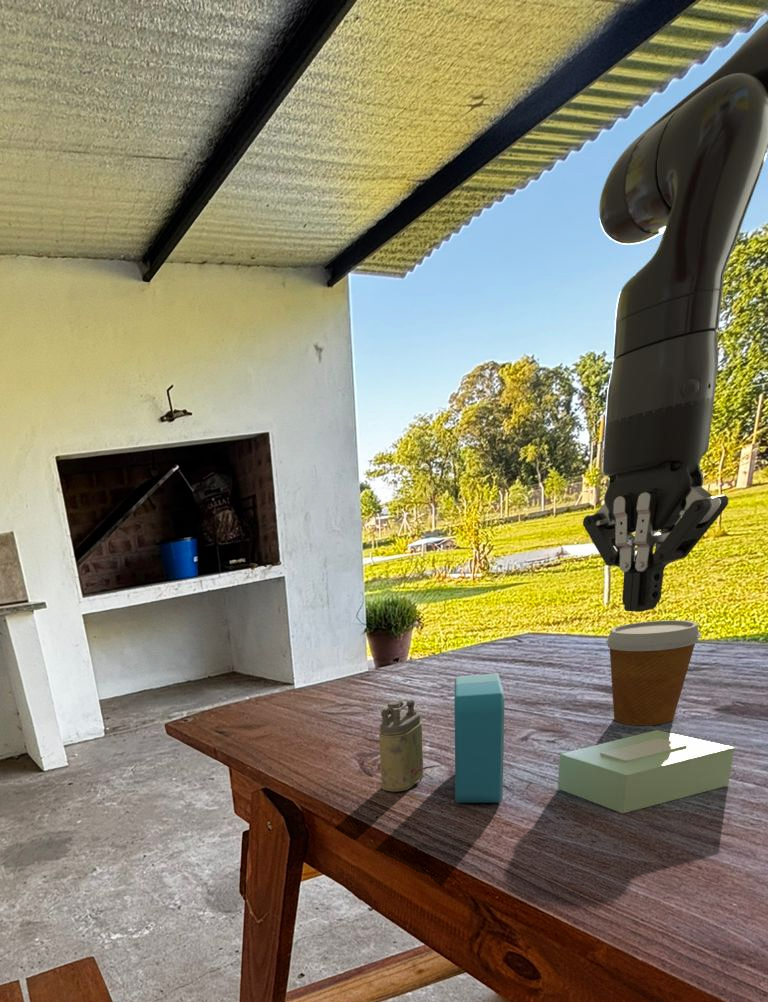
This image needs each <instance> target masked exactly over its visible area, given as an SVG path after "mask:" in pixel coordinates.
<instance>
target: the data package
mask: <svg viewBox="0 0 768 1002" xmlns="http://www.w3.org/2000/svg"><path fill="white" fill-rule="evenodd" d="M502 686H503V685H502V682H501V678H500V675H499V673H496V672H495V673H486V674H474V675H473V674H471V675H461V676H460V675H459V676H456V677H454V795H455V796H454V798H455V799H454V801H455V802H456V803H457V804H482V803H483V804H486V803H487V804H488V803H489V804H490V803H491V804H492V803H493V804H494V803H495V804H497V803H501V802H502V801H503V797H504V795H503V794H504V755H505V754H504V751H505V748H504V747H505V693H504V689H503V687H502Z"/></svg>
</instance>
